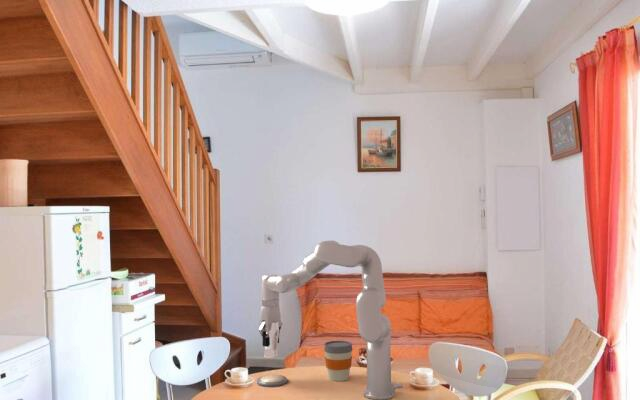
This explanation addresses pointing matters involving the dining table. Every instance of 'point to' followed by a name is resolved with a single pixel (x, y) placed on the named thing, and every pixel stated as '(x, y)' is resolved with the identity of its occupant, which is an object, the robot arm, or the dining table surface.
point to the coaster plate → (271, 380)
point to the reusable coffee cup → (338, 359)
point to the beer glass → (272, 341)
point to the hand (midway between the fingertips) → (270, 344)
